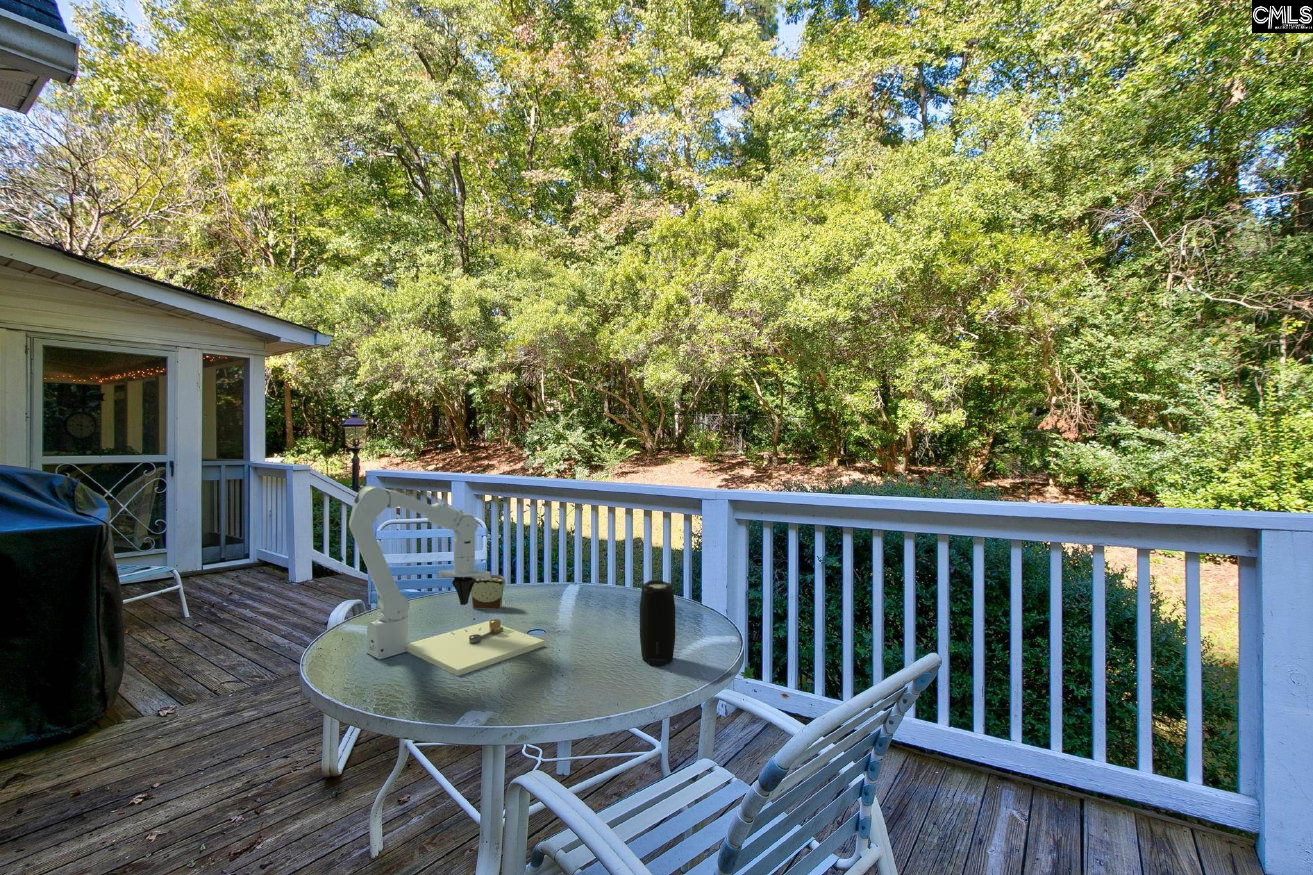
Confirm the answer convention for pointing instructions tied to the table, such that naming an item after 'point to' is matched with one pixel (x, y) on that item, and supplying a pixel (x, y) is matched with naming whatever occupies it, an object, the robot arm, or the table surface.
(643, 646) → the portable speaker
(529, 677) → the table surface
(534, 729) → the table surface
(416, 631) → the table surface
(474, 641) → the dial needle
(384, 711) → the table surface
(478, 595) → the food container
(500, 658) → the dial board
